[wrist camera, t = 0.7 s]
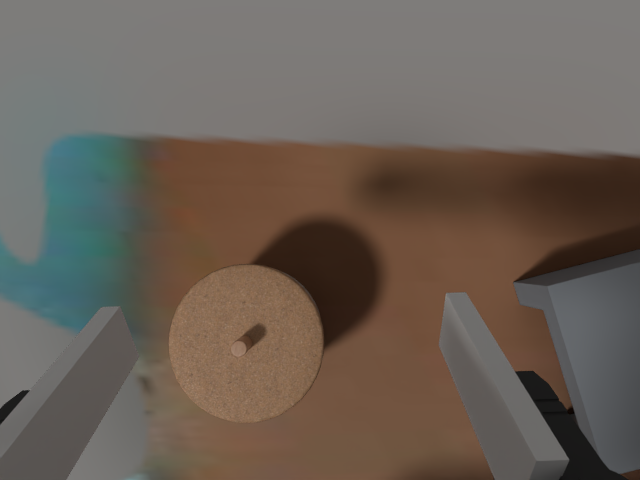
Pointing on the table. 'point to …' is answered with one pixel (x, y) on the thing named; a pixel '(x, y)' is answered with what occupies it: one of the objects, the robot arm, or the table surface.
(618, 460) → the stand
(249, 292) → the lidded jar
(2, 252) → the table surface
